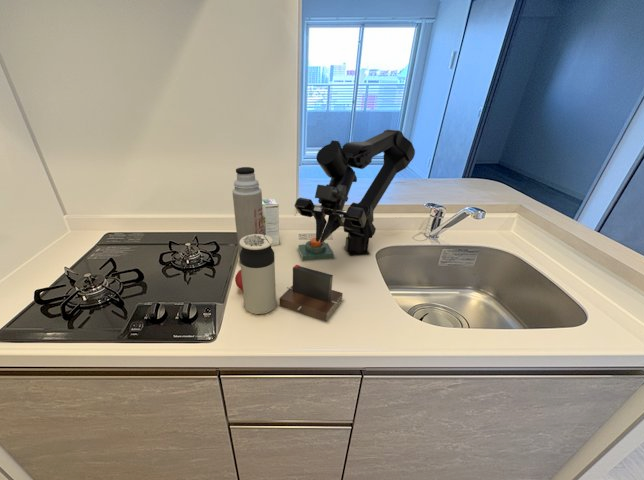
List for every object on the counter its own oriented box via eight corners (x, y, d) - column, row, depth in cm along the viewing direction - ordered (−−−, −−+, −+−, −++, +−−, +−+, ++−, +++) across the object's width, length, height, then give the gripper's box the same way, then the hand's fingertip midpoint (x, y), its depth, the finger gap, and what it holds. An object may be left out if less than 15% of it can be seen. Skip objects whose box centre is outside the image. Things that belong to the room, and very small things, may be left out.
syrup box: (259, 240, 115) (257, 199, 106) (275, 238, 116) (274, 197, 108) (263, 247, 110) (261, 205, 102) (280, 244, 112) (279, 203, 103)
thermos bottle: (270, 260, 102) (266, 167, 86) (253, 270, 97) (245, 173, 81) (251, 253, 106) (244, 163, 90) (234, 263, 101) (223, 169, 85)
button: (320, 242, 106) (320, 237, 105) (322, 247, 103) (322, 242, 102) (309, 243, 105) (309, 238, 104) (311, 248, 102) (311, 243, 101)
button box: (327, 247, 110) (328, 238, 108) (333, 258, 103) (334, 248, 101) (298, 249, 109) (298, 239, 107) (302, 260, 102) (302, 250, 100)
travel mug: (246, 316, 79) (239, 250, 68) (243, 298, 85) (237, 234, 75) (278, 312, 80) (276, 246, 70) (273, 295, 86) (270, 232, 76)
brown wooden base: (347, 297, 85) (348, 289, 84) (324, 327, 75) (325, 318, 74) (299, 283, 91) (299, 275, 90) (273, 309, 81) (272, 301, 80)
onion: (245, 283, 91) (243, 258, 87) (262, 289, 89) (260, 263, 84) (232, 293, 87) (229, 267, 82) (249, 299, 85) (247, 273, 80)
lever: (330, 299, 80) (333, 274, 76) (328, 302, 79) (330, 277, 75) (295, 288, 84) (295, 264, 80) (292, 291, 83) (292, 266, 79)
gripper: (298, 165, 82) (276, 221, 81) (369, 175, 74) (346, 236, 73) (310, 189, 92) (291, 239, 91) (374, 199, 85) (355, 254, 83)
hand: (319, 241), depth 84 cm, fingers closed
